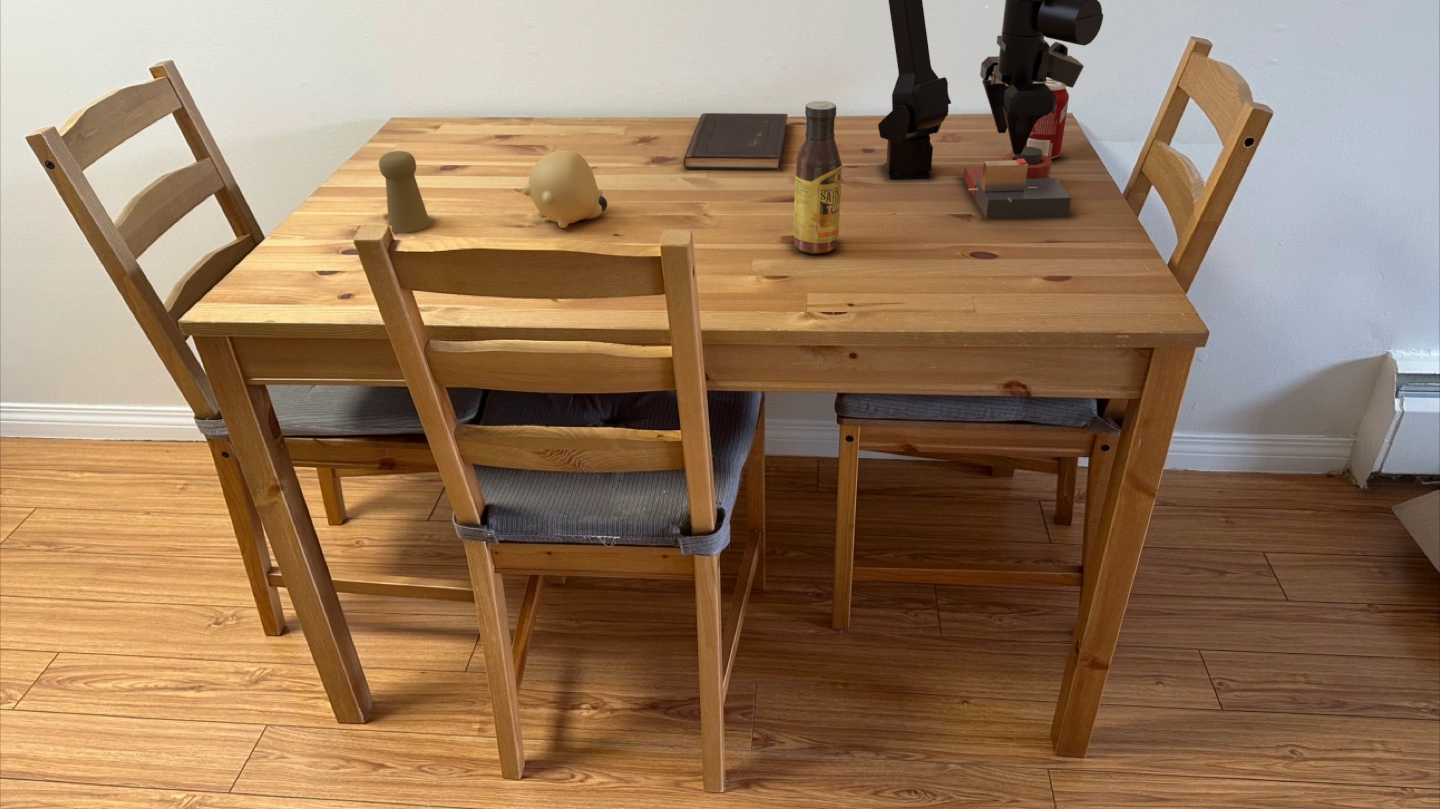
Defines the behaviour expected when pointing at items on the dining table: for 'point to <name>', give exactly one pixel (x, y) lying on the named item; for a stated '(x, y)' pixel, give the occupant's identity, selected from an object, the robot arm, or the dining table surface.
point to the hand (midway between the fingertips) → (1009, 143)
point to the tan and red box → (1004, 175)
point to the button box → (1032, 171)
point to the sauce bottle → (818, 182)
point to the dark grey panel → (1025, 200)
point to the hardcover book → (737, 142)
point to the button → (1030, 155)
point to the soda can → (1051, 123)
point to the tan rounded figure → (564, 188)
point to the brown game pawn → (403, 193)
